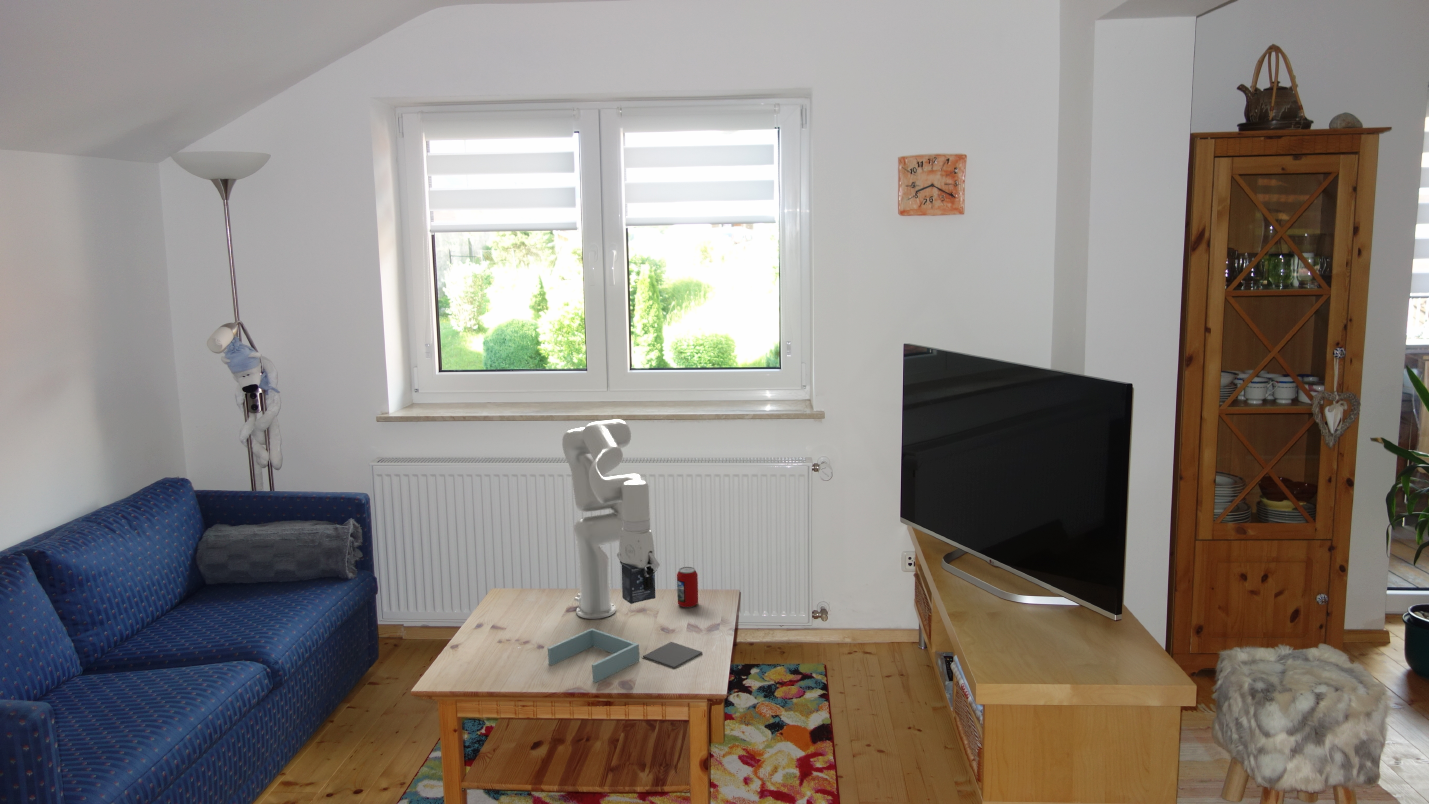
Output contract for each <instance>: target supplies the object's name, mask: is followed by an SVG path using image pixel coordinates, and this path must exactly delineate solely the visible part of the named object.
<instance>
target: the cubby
mask: <svg viewBox="0 0 1429 804" xmlns="http://www.w3.org/2000/svg"><path fill="white" fill-rule="evenodd" d="M639 645H640V643H637V642H634V641H631V640H628V639H625V638H622V637H619V636H616V635H613V634H611V633H608V632H604V631H602V630H598V629H596V628H593V627H591V628H589V629H587V630H585V631H583V632H580V633H578V634H576V635H573V636H571V637H569V638H566V639H564V640H562V641H560V642H558V643H555V644H553V645H550V646H548V647H547V660H548V665H549V666H552V665H553V666H554V665H555V664H557V663H559V662H562V661H564V660H566V659H568V658H571V657H572V656H575V655H576V654H579V653H582V652H583V651H585V650H587V649H590V648H592V647H594V648H597V649H599V650H601V651H605V652H608V653H611V654H610V655H609V656H606V657H605V658H602V659H600V660H598V661H596V662H594V663H592V664H591V670H592V671H591V672H592V683H599V682H600V681H603V680H604V679H606V678H608V677H611V676H612V675H615V674H616V673H617V672H620V671H622V670H624V669H625V668H627V667H630V666H631V665H634V664H635V663H638V662H639V661H640V646H639Z"/></svg>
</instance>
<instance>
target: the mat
mask: <svg viewBox="0 0 1429 804" xmlns="http://www.w3.org/2000/svg"><path fill="white" fill-rule="evenodd" d="M701 655H703V651H701V650H697V649H695V648H692V647H689V646H686V645H683V644H679V643H676V642H673V641H669V642H668V643H665V644H664V645H662V646H659V647H657V648H656V649H654V650H651V651H650V652H647V653H645V654H644V655H643V656H642V659H645V660H648V661H651V662H653V663H657V664H659V665H662V666H666V667H667V668H668V667H669V668H670V669H677V668H679V667H681V666H682V665H685V664H687V663H689V662H690V661H692V660H693V659H696V658H697V657H699V656H701Z"/></svg>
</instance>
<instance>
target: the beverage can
mask: <svg viewBox="0 0 1429 804" xmlns="http://www.w3.org/2000/svg"><path fill="white" fill-rule="evenodd" d="M698 575H699V574H698V572H697V571H696V568H695V567H691V566H684V567H683V566H682V567H680V568H679V569H678V571H677V573H676V593H677V604H678V606H680V607H682V608H686V607H689V608H693V607H695V606H696V605H698V604H699V585H698V584H699V581H698V580H699V577H698Z"/></svg>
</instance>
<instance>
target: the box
mask: <svg viewBox="0 0 1429 804" xmlns="http://www.w3.org/2000/svg"><path fill="white" fill-rule="evenodd" d="M621 564H622V565H621ZM620 565H621V592H622V595H621V596H622V597H621V598H622V599H623V600H624V601H626V602H627V603H628V604H630V605H633V604H636V603H641V602H645V601H648V600H653V599H656V572H655V573H654V575H653V588H651V589H649V590H646V591H645V590H644V589H643V577H644V576H645V575H644V572H643V570H642V568H638V567H635V566H632V565H628V564H625V563H620ZM646 568H647V571H648V570H649V568H648V567H646Z"/></svg>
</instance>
